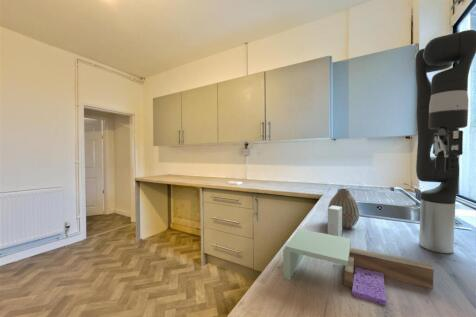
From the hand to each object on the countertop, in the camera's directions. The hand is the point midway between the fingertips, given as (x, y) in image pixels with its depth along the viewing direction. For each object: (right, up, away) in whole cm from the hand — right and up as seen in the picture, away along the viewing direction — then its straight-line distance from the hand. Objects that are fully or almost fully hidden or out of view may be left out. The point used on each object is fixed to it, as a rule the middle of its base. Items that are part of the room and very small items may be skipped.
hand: (445, 170), depth 58 cm
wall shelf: (-32, -30, +3) cm, 44 cm away
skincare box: (-16, -29, +31) cm, 45 cm away
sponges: (-22, -31, -2) cm, 38 cm away
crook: (-16, -30, -1) cm, 34 cm away
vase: (-8, -29, +42) cm, 51 cm away
